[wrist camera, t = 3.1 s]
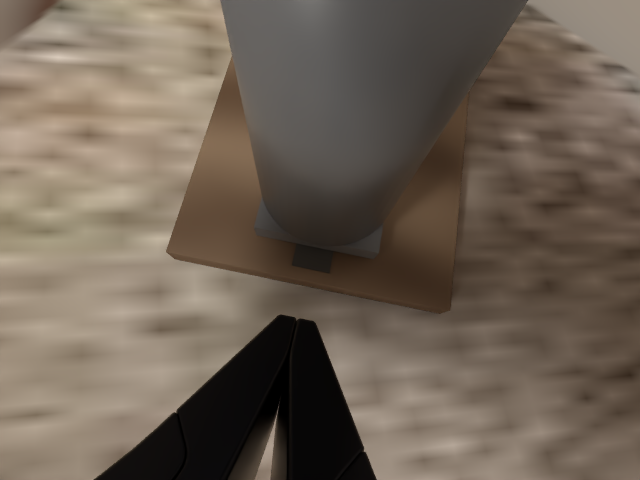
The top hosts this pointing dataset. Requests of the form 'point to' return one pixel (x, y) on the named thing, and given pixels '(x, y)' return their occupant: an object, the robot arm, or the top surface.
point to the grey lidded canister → (351, 103)
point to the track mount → (310, 262)
